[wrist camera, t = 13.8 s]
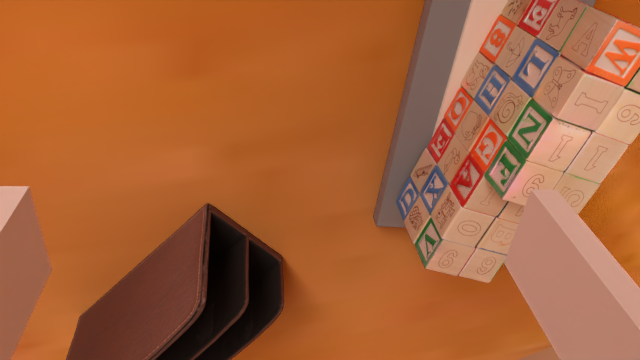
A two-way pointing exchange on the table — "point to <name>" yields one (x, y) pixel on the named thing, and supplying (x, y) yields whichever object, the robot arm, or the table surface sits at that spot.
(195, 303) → the letter holder
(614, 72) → the stack of blocks
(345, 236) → the table surface
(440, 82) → the base board
